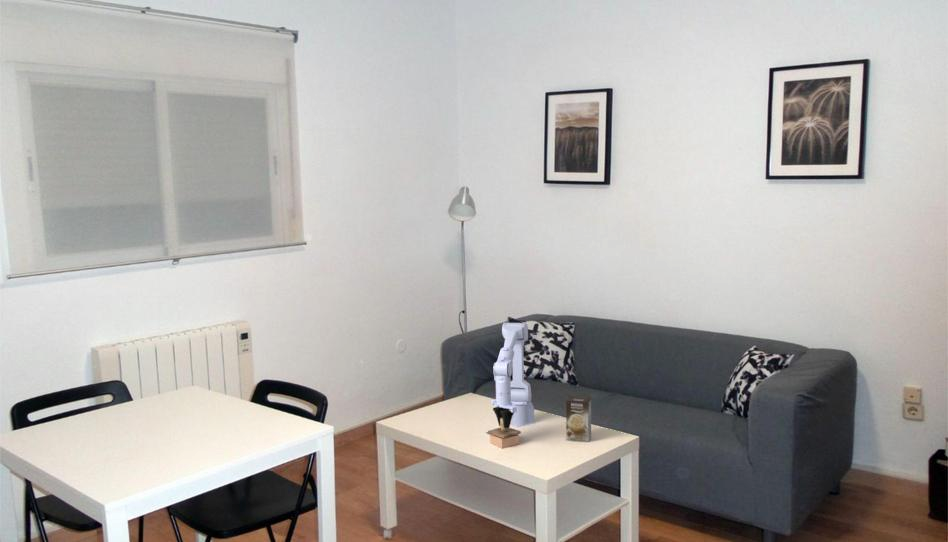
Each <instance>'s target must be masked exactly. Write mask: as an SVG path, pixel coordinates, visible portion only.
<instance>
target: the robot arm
mask: <svg viewBox="0 0 948 542" xmlns="http://www.w3.org/2000/svg"><path fill="white" fill-rule="evenodd" d="M501 326H502V327H501V334H502V337H503V339H504V344H503V347H502V348H500V351H499V354H498V357H497V360H496V362H494V363H493V367H492V368H493V369H492V370H493V377H494V379H493V380H494V381H495V398H494V399H491V400H490V401H491V402H490V403H491V406H492V405H493V408H492V411H493V412H494V414H495V416H496V419H497V423H498V426H499V427H500V418H503V425H504V428H511V427H510V426H514V427H516V428H520V427H525V426H528V425H533V424H536V421H535V407H534V405H533V403H532V402H531V401H532V389H531V384H530V383H529V382H528V381H527V380H525V375H524V374H525V372H524V371H525V369H524V366H525V365H524V361H525V358H524V356H525V355H524V344H525V342H528V339H529V326H528V324H527V323H526V322H503V324H502V325H501ZM511 376H512V380H511Z"/></svg>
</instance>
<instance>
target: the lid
mask: <svg viewBox="0 0 948 542" xmlns="http://www.w3.org/2000/svg"><path fill="white" fill-rule="evenodd" d="M487 432H488V433H489V434H492V435H495V436H498V437H501V438H506V437H510V436H513V435H517V434H519V435H521V434H522V433H521V431H520V430H518V429H515V428H511V427H509V428H504V425H503V418H500V426H499V427H497V428H495V429H490V430H487ZM489 434H488V435H489Z"/></svg>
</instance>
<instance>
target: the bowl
mask: <svg viewBox="0 0 948 542" xmlns="http://www.w3.org/2000/svg"><path fill="white" fill-rule="evenodd" d="M489 437H490V438H489V441H490V442H489V443H490V444H491V445H493V446H495V447H498V448H500V449H502V450H503V449H506V448H510V447H514V446H517V445H520V434H519V435H513V436H510V437H506V438H501V437H498V436H495V435H492V434H490V435H489Z"/></svg>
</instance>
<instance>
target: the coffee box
mask: <svg viewBox="0 0 948 542" xmlns="http://www.w3.org/2000/svg"><path fill="white" fill-rule="evenodd" d="M565 414H566V415H565V416H566V417H565V419H566V420H565V421H566V422H565V424H566V425H565V427H566V431H565V432H566V433H565V435H566V438H565V439H566V440H565V441H573V442H582V443H589V442H590V441H591V439H592V398H591V397H583V396H582V397H581V396H580V397H579V396H568V397H567V399H566V400H565Z"/></svg>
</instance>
